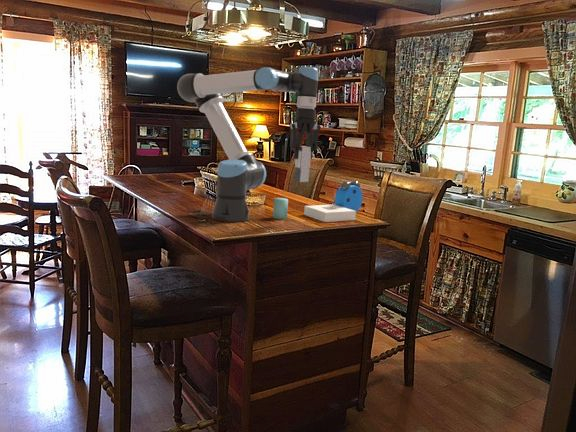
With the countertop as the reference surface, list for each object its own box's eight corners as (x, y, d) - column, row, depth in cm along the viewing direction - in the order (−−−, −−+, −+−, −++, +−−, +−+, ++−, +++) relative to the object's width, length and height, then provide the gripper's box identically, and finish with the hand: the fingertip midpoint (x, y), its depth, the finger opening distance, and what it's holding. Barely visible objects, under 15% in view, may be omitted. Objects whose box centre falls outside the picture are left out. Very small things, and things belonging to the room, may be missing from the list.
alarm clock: (352, 211, 235) (354, 179, 232) (362, 213, 230) (364, 181, 228) (333, 213, 226) (335, 180, 224) (343, 215, 222) (345, 182, 219)
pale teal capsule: (277, 219, 205) (278, 200, 203) (270, 216, 210) (271, 198, 209) (289, 218, 208) (290, 200, 207) (282, 216, 213) (283, 197, 212)
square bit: (299, 181, 198) (302, 146, 195) (294, 180, 201) (297, 145, 198) (308, 181, 200) (310, 146, 197) (303, 180, 203) (305, 146, 200)
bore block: (324, 222, 205) (325, 212, 205) (304, 214, 219) (304, 205, 218) (355, 220, 213) (356, 210, 213) (333, 213, 227) (334, 204, 226)
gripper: (292, 106, 187) (288, 168, 192) (329, 109, 196) (325, 168, 201) (282, 106, 194) (279, 166, 198) (318, 109, 202) (314, 166, 207)
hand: (302, 167), depth 199 cm, fingers closed on square bit, 4 cm apart
